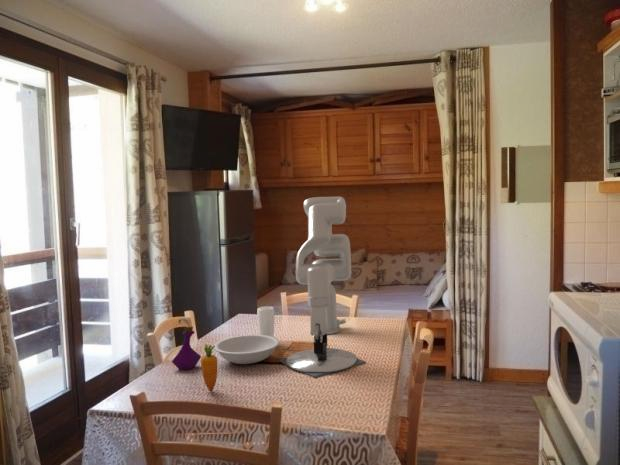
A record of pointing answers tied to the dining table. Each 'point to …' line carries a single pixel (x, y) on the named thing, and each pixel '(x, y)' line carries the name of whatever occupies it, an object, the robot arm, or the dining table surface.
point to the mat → (323, 373)
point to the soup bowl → (246, 348)
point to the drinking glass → (266, 320)
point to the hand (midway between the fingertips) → (321, 349)
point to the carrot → (209, 367)
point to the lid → (321, 360)
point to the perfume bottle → (186, 351)
